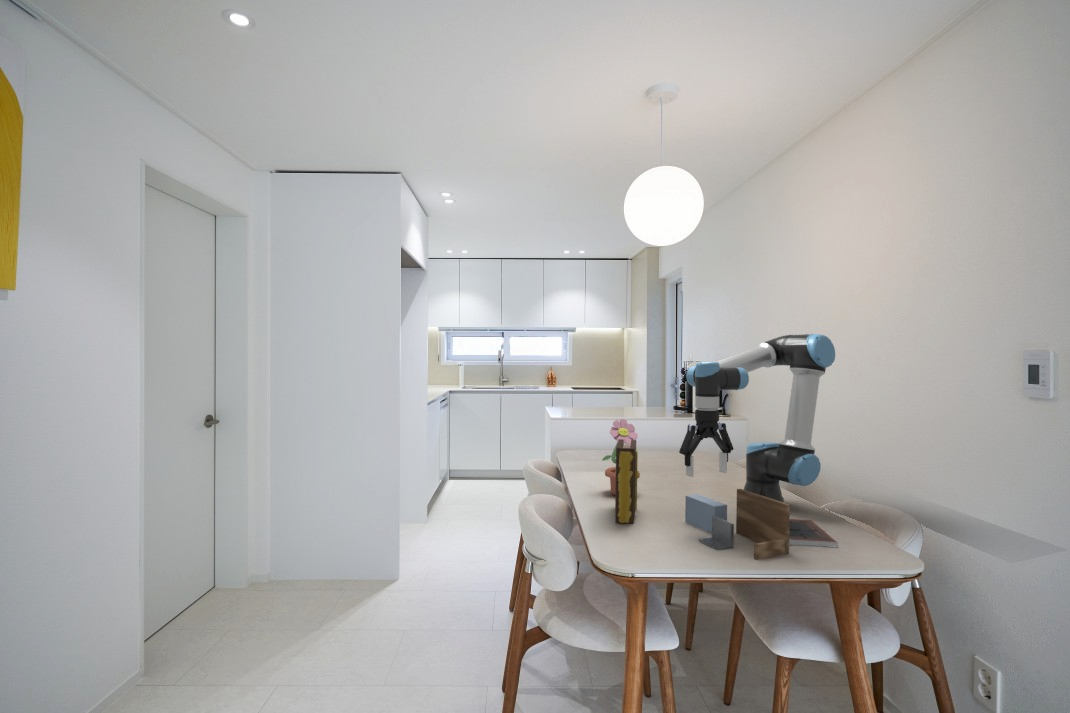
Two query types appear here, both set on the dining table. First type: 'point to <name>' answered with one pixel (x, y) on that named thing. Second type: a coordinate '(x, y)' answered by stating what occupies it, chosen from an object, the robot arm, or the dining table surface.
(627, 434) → the decorative flower
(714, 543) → the bookend
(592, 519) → the dining table surface
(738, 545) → the dining table surface
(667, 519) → the dining table surface
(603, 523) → the dining table surface
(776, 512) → the shelf
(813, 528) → the picture frame
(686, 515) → the boxed book
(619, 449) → the book
